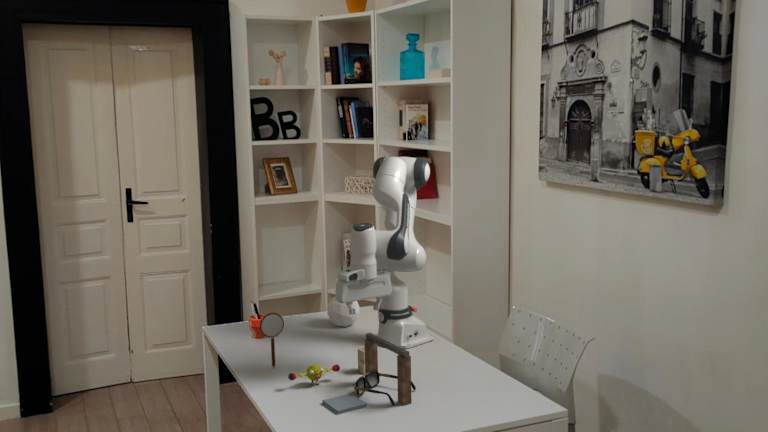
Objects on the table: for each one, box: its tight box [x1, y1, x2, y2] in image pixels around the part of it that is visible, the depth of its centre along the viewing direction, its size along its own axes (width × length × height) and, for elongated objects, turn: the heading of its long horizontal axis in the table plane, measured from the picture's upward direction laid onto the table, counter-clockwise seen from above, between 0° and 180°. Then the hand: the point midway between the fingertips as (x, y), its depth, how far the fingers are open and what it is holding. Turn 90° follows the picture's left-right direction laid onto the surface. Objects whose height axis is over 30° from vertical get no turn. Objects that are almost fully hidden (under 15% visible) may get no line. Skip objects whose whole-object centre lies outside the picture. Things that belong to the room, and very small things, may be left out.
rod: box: [365, 332, 410, 358], centre depth 236 cm, size 2×23×2 cm, turn 32°
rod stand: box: [364, 338, 412, 406], centre depth 238 cm, size 3×22×15 cm, turn 32°
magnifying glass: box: [259, 312, 285, 369], centre depth 261 cm, size 9×2×20 cm, turn 116°
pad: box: [322, 392, 368, 415], centre depth 230 cm, size 10×10×1 cm
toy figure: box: [287, 363, 340, 387], centre depth 246 cm, size 18×6×7 cm, turn 117°
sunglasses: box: [353, 370, 417, 407], centre depth 237 cm, size 14×15×5 cm
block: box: [357, 346, 365, 375], centre depth 257 cm, size 4×4×8 cm
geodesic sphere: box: [327, 295, 361, 328], centre depth 311 cm, size 14×14×14 cm
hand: (364, 311), depth 255 cm, fingers open, 8 cm apart
